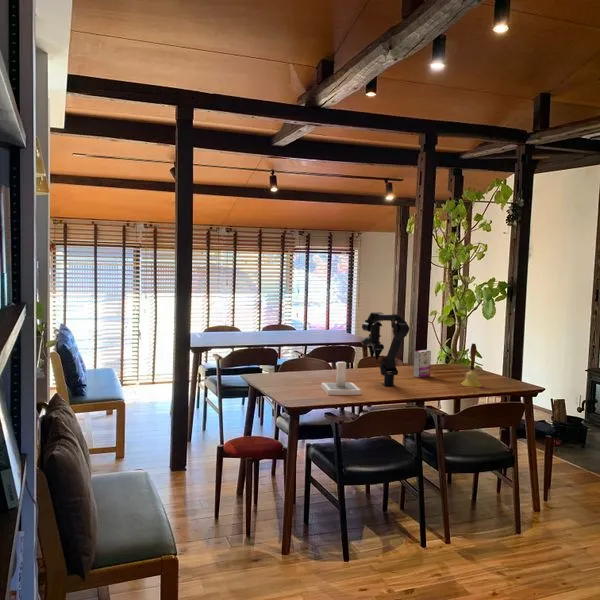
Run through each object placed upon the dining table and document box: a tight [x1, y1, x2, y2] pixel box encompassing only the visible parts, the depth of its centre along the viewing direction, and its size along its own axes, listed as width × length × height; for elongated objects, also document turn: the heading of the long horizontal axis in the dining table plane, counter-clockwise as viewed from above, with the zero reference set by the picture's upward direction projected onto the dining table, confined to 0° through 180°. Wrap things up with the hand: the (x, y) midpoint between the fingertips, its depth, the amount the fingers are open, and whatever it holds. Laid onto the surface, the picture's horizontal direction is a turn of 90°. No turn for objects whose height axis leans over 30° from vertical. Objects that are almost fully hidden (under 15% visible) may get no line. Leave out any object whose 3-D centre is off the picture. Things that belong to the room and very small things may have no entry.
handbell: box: [460, 343, 483, 388], centre depth 336 cm, size 12×12×25 cm
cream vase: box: [335, 361, 347, 387], centre depth 308 cm, size 5×5×13 cm
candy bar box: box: [413, 349, 432, 379], centre depth 356 cm, size 11×5×16 cm, turn 129°
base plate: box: [320, 382, 362, 396], centre depth 309 cm, size 18×18×3 cm
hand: (373, 358), depth 340 cm, fingers open, 9 cm apart
